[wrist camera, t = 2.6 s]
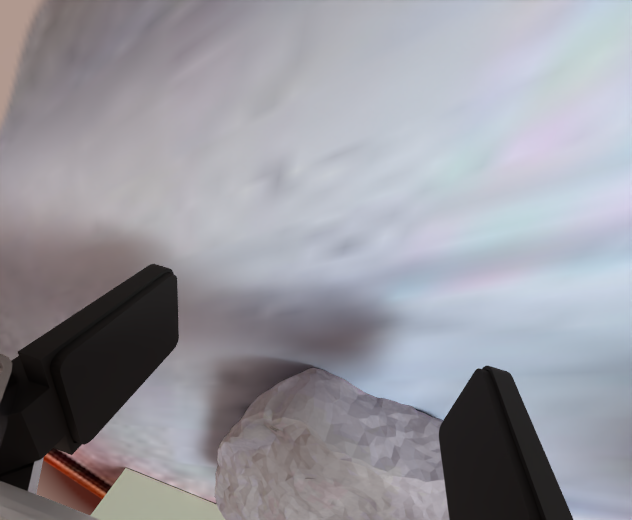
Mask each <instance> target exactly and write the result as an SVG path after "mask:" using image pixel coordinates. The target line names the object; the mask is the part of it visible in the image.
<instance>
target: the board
mask: <svg viewBox="0 0 632 520" xmlns="http://www.w3.org/2000/svg"><path fill="white" fill-rule="evenodd" d="M91 516H92V517H94V518H97V519H99V520H225V518H224V517H223V516H222V513H221V512H220V511H219V509H218V507H217V504H214V503H212V502H209V501H207V500H204V499H202V498H199V497H197V496H194V495H192V494H189V493H187V492H184V491H182V490H179V489H177V488H175V487H172V486H170V485H167V484H165V483H162V482H160V481H157V480H155V479H152V478H150V477H147V476H145V475H142V474H140V473H137V472H135V471H132V470H130V469H127V468H125V470H124V471H123V472H122V474H121V475H120V476H119V478H118V479H117V480H116V482H115V483H114V484H113V486H112V487H111V489H110V490H109V491H108V493H107V494H106V495H105V497H104V498H103V499H102V501H101V502H100V504H99V505H98V506H97V508H96V509H95V510H94V512H93V513H92V514H91Z"/></svg>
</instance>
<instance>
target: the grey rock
mask: <svg viewBox="0 0 632 520" xmlns="http://www.w3.org/2000/svg"><path fill="white" fill-rule="evenodd" d="M442 422H443V420H441V419H438V418H433V417H431V416H429V415H427V414H425V413H423V412H420V411H417V410H416V409H415V408H414V407H412V406H409V405H404V404H400V403H397V402H395V401H391V400H388V399H383V398H377V397H374V396H372V395H369V394H367V393H365V392H363V391H362V390H360V389H359V388H357V387H355V386H353V385H352V384H351V383H349V382H348V381H346V380H345V379H342V378H340V377H338V376H335V375H333V374H331V373H329V372H327V371H325V370H322V369H317V368H310V369H307V370H305V371H304V372H302V373H299V374H296V375H294V376H292V377H290V378H288V379H285V380H283V381H281V382H279V383H277V384H276V385H275V386H274V387H273V388H271V389H269V390H267V391H266V392H264V393H263V394H261V395H259V396H258V397H257V398H256V400H255V401H254V402H253V403H252V404H251V405H250V406H249V408H248V409H247V411H246V412H245V414H244V415H243V417H242V418H241V419H240V421H239V422H238V423H237V424H235V425H234V426H233V427H232V428H231V429H230V432H229V434H227V435H226V436H225V437H224V439H223V440H222V442H221V443H220V445H219V448H218V454H217V462H218V467H217V471H216V473H215V475H216V486H215V498H216V504H217V507H218V509H219V511H220V512H221V513H222V516H223V517H224V518H225V520H449V513H448V505H447V497H446V490H445V482H444V474H443V466H442V459H441V451H440V443H439V429H440V426H441V424H442Z"/></svg>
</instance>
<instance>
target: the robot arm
mask: <svg viewBox="0 0 632 520" xmlns="http://www.w3.org/2000/svg"><path fill="white" fill-rule="evenodd" d="M178 338H179V335H178V297H177V277H176V276H175V275H173V271H172V270H171V269H169V268H166V267H163V266H159V265H156V264H151V265H149V266H147V267H146V268H144V269H143V270H141V271H140V272H138V273H137V274H135V275H134V276H132V277H131V278H129V279H128V280H126V281H125V282H123V283H122V284H120V285H119V286H117V287H115V288H114V289H112V290H111V291H109V292H108V293H106V294H105V295H103V296H102V297H100V298H99V299H97V300H96V301H94V302H93V303H91V304H90V305H88V306H87V307H85V308H84V309H82V310H81V311H79V312H77V313H76V314H74V315H73V316H71V317H70V318H68V319H67V320H65V321H64V322H62V323H61V324H59V325H58V326H56V327H55V328H53V329H52V330H50V331H49V332H47V333H46V334H44V335H43V336H41V337H39V338H38V339H36V340H35V341H33V342H32V343H30V344H29V345H27V346H26V347H24V348H23V349H21V350H20V351H18V354H19V356H18V357H17V358H15V359H14V360H12V361H11V360H10V359H9V358H8V357H6V356H4V355H2V354H0V520H99V519H97V518H94V517H92V516H89V515H87V514H84V513H82V512H79V511H77V510H74V509H72V508H70V507H67V506H64V505H62V504H60V503H57V502H54V501H52V500H49V499H47V498H44V497H42V496H39V495H36V492H37V487H38V481H39V477H40V472H41V467H42V462H43V457H44V456H45V455H46V454H47V453H48V452H49V451H50V450H51V449H52V448H55V449H58V450H60V451H63V452H66V453H68V454H71V455H72V454H73V453H74V452H75V451H76V450H77V449H78V448H79V447H80V446H81V445H82V444H87V443H88V442H90V441H91V440H92V439H93V438H94V437H95V436H96V435H97V434H98V433H99V431H100V430H101V429H102V428H103V427H104V426H105V425H106V424H107V423H108V422H109V420H110V419H111V418H112V417H113V416H114V415H115V414H116V413H117V412H118V410H119V409H120V408H121V407H122V406H123V405H124V404H125V403H126V402H127V400H128V399H129V398H130V397H131V396H132V395H133V394H134V393H135V392H136V390H137V389H138V388H139V387H140V386H141V385H142V384H143V383H144V382H145V380H146V379H147V378H148V377H149V376H150V375H151V374H152V373H153V372H154V370H155V369H156V368H157V367H158V366H159V365H160V364H161V363H162V362H163V360H164V359H165V358H166V357H167V356H168V355H169V354H170V353H171V352H172V351H173V349H174V348H175V347H176V345H177V342H178ZM439 443H440V451H441V459H442V466H443V474H444V482H445V490H446V497H447V505H448V513H449V520H573V518H572V515H571V513H570V511H569V508H568V506H567V504H566V501H565V499H564V497H563V494H562V492H561V490H560V487H559V485H558V483H557V480H556V478H555V476H554V473H553V471H552V469H551V466H550V464H549V462H548V459H547V457H546V455H545V452H544V450H543V448H542V445H541V443H540V441H539V438H538V436H537V434H536V431H535V429H534V427H533V424H532V422H531V420H530V417H529V415H528V413H527V410H526V408H525V406H524V403H523V401H522V399H521V396H520V394H519V392H518V389H517V387H516V385H515V382H514V380H513V378H512V376H511V374H510V373H509V372H507V371H503V370H500V369H497V368H493V367H490V366H485V367H483V369H477V370H476V371H475V372H474V374H473V375H472V377H471V378H470V380H469V381H468V383H467V384H466V386H465V388H464V389H463V391H462V392H461V394H460V395H459V397H458V399H457V400H456V402H455V403H454V405H453V406H452V408H451V410H450V411H449V413H448V414H447V416H446V417H445V419H444V421H443V422H442V424H441V426H440V429H439Z"/></svg>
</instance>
